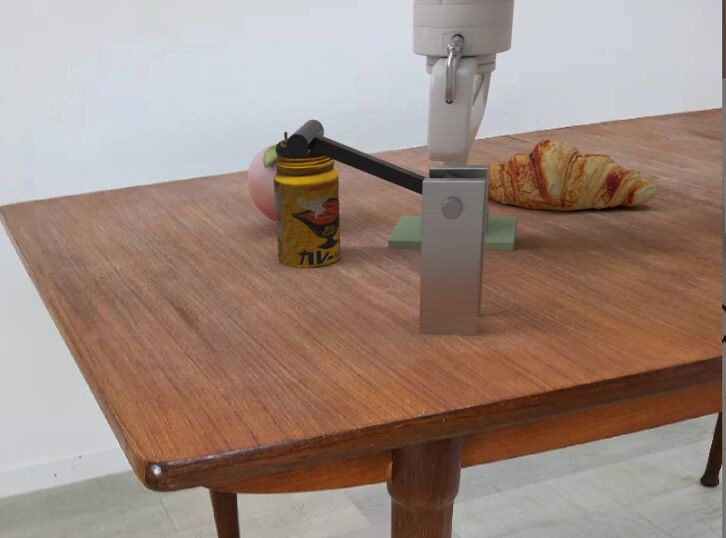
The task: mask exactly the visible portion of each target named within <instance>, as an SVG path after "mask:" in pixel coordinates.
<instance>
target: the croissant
mask: <svg viewBox="0 0 726 538" xmlns="http://www.w3.org/2000/svg"><path fill="white" fill-rule="evenodd" d="M488 165H489V182H488V196H489V197H490V198H491V199H492V200H494V201H496V202H499V203H501V204H502V205H510V206H511V205H512V206H517V207H519V208H520V207H521V208H523V209H528V210H529V209H531V210H549V211H556V212H565V211H581V210H588V209H596V210H600V209H607V208H611V209H612V208H616V207H617V206H625V207H635V206H640V205H644V204H647V203H648V202H650V201H652V200H653V199H654V198H655V197H656V194H657V191H658V189H657V186H656V185H655V183H653V182H649V181H648V180H647V179H646V178H645V177H644V176H642V174H641V173H640V172H639V171H638V170H636V169H627V170H626V169H624V167H622V166H621V165H619V164H618V163H616V162H615V160H613V159H612V158H611V157H610V155H609V154H601V153H595V154H594V153H587V152H584V153H583V154H582V152H581V151H580V150H579V148H578V147H577V146H575V145H573V144H572V143H569V142H563V141H561V140H556V139H555V140H551V139H546V140H545V139H542V140H540V141H539V142H537V143H536V145H535V146H534V148H533V150H532V151H531V152H530V153H526V152H525V153H524V152H517V153H516V154H514V155H513V156H511V157H510V160H508V161H505V162H504V163H499V162H495V163H494V162H493V163H492V162H491V163H488Z"/></svg>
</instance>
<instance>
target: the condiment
mask: <svg viewBox="0 0 726 538" xmlns="http://www.w3.org/2000/svg"><path fill="white" fill-rule="evenodd" d="M287 140H288V138H287V139H285V138H284V139H282V140H280V141H278V142H277V143H276V144H277V145H276V149H275V150H276V153H277V160H276V169H277V172H276V174H275V175H274V196H275V197H274V199H275V211H276V222H275V225H276V227H275V228H276V243H277V244H276V245H277V256H278V258H277V259H278V263H279V264H280V265H282V266H285V267H289V268H293V269H316V268H325V267H327V266H330V265H331V266H332V265H333V264H336V263H338V262H339V261H340V260H341V257H342V253H341V225H340V224H341V222H340V219H341V218H340V197H339V196H340V195H339V194H340V193H339V190H340V189H339V188H340V181H339V174H338V172H337V170H336V169H335V168H334V167H335V166H334V165H335V160H333V159H331V158H328V157H326V156H323V155H321V154H318V153H316V152H313V151H310V152H309V153H308V154H307V155H306V156H304V157H303V158H301V159H295V158H292V157H291V156H290V155H289V154H288V152H287V150H286V142H287Z"/></svg>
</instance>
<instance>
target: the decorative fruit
mask: <svg viewBox="0 0 726 538" xmlns="http://www.w3.org/2000/svg"><path fill="white" fill-rule="evenodd" d="M283 136H284V140H285V139H288V132H287V131H284V132H283ZM277 144H278V143H273V144H270V145H268V146H266V147H263V148H262V149H261V150H260V151H259V152H257V154H256V155H255V156H254V158H253V160H252V161H251V162H250V164H249V166H248V171H247V188H248V193H249V195H250V198H251V200H252V202H253V204H254V205H255V206H256V208H257V209H258V211H260V212H261V213H262V214H263V215H264V216H265V217H267V218H269V219H270V220H271V221H273V222H275V223H276V211H275V199H274V197H275V196H274V175H275V174H276V172H277V169H276V160H277V153H276V150H275V149H276V145H277Z"/></svg>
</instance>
